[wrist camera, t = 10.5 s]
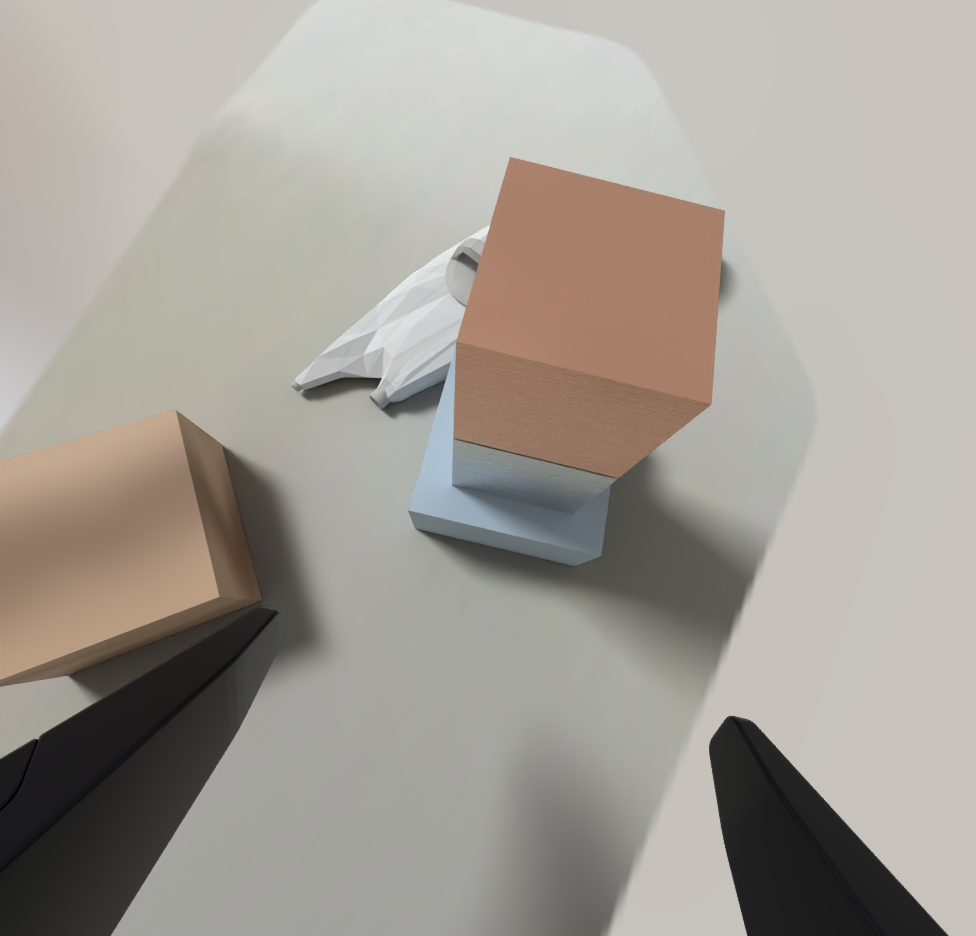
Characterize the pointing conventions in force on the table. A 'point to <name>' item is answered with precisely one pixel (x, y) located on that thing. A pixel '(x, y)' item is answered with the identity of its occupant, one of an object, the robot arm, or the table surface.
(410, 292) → the spaceship
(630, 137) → the table surface
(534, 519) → the stand
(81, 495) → the stand
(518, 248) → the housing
